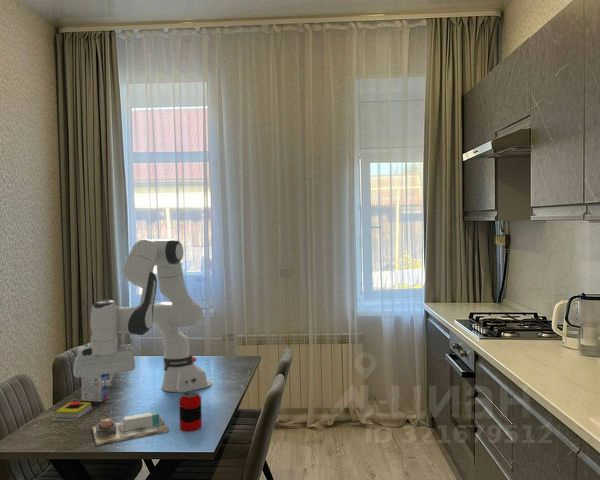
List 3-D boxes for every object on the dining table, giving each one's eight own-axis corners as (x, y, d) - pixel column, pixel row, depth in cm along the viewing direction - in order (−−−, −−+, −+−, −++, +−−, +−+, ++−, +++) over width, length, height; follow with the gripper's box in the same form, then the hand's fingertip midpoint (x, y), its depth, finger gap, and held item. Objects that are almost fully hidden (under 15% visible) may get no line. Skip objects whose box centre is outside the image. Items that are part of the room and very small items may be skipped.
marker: (123, 426, 184) (123, 416, 184) (157, 420, 189) (157, 411, 189) (124, 430, 181) (124, 420, 181) (159, 424, 186) (159, 414, 186)
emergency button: (93, 398, 208) (74, 410, 193) (94, 408, 208) (74, 422, 193) (72, 397, 209) (51, 410, 194) (72, 408, 209) (51, 421, 194)
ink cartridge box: (109, 398, 220) (108, 364, 219) (102, 402, 214) (101, 368, 214) (89, 396, 222) (88, 363, 221) (81, 401, 216) (80, 367, 216)
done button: (111, 426, 182) (111, 417, 182) (112, 429, 179) (112, 421, 179) (99, 428, 180) (99, 419, 180) (100, 432, 177) (100, 423, 177)
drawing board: (159, 417, 196) (159, 408, 196) (168, 431, 181) (168, 422, 181) (92, 429, 185) (92, 420, 185) (96, 445, 171) (96, 435, 170)
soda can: (190, 422, 190) (189, 390, 190) (205, 426, 186) (205, 393, 186) (175, 429, 184) (175, 396, 183) (191, 433, 180) (190, 399, 180)
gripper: (133, 342, 186) (134, 379, 187) (72, 348, 177) (73, 388, 178) (136, 345, 181) (137, 384, 181) (73, 352, 172) (74, 393, 172)
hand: (105, 386), depth 179 cm, fingers closed
